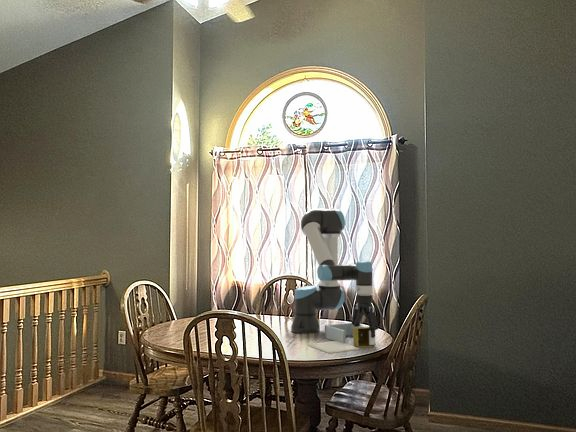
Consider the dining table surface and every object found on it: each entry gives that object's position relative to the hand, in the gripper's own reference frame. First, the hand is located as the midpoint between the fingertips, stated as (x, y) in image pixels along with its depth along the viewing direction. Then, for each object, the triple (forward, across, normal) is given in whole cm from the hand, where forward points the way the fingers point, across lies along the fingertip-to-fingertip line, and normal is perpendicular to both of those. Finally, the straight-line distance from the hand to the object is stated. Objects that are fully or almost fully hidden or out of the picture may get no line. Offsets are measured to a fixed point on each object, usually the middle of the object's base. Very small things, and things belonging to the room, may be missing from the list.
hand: (364, 342), depth 244 cm
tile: (+1, -2, -16) cm, 16 cm away
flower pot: (-3, -5, 0) cm, 6 cm away
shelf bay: (+1, -14, 0) cm, 14 cm away
